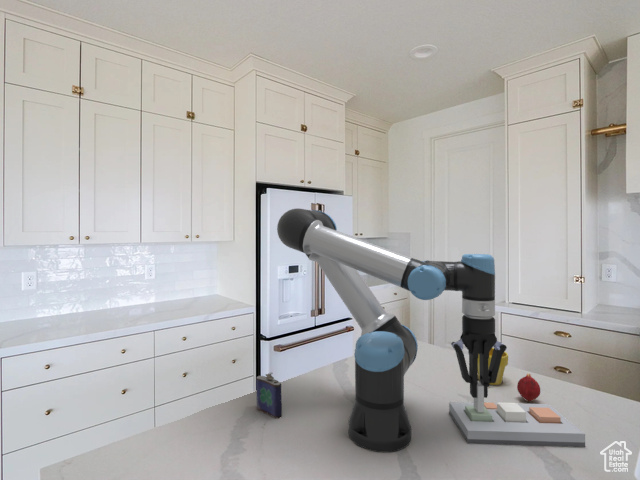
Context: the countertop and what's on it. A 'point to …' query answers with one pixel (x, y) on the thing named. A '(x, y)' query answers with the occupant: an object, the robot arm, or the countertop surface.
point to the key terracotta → (544, 415)
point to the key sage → (478, 414)
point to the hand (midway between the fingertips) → (478, 409)
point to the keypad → (516, 428)
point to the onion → (528, 388)
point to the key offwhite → (511, 412)
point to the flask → (269, 396)
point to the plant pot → (501, 369)
